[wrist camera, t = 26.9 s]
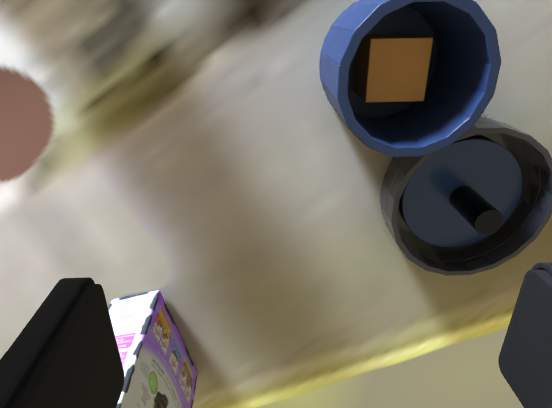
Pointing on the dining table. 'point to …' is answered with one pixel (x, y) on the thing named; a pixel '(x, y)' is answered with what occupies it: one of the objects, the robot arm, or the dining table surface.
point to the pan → (499, 245)
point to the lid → (462, 193)
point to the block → (392, 67)
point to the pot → (440, 82)
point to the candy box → (151, 354)
